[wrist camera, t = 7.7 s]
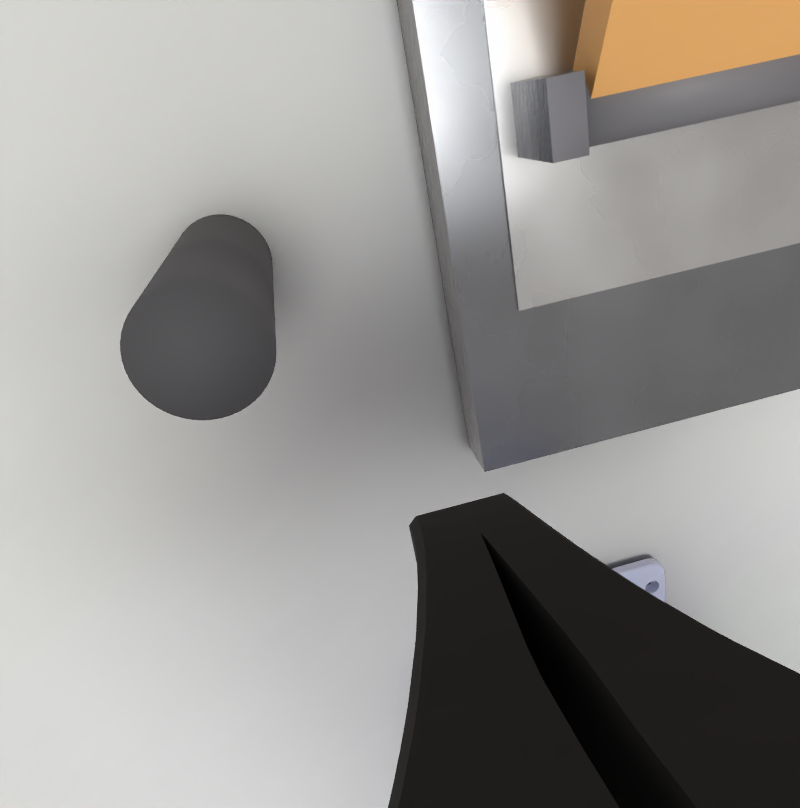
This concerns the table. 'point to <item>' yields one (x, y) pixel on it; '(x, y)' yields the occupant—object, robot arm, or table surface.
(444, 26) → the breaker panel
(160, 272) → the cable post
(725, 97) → the breaker paddle
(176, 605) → the table surface
